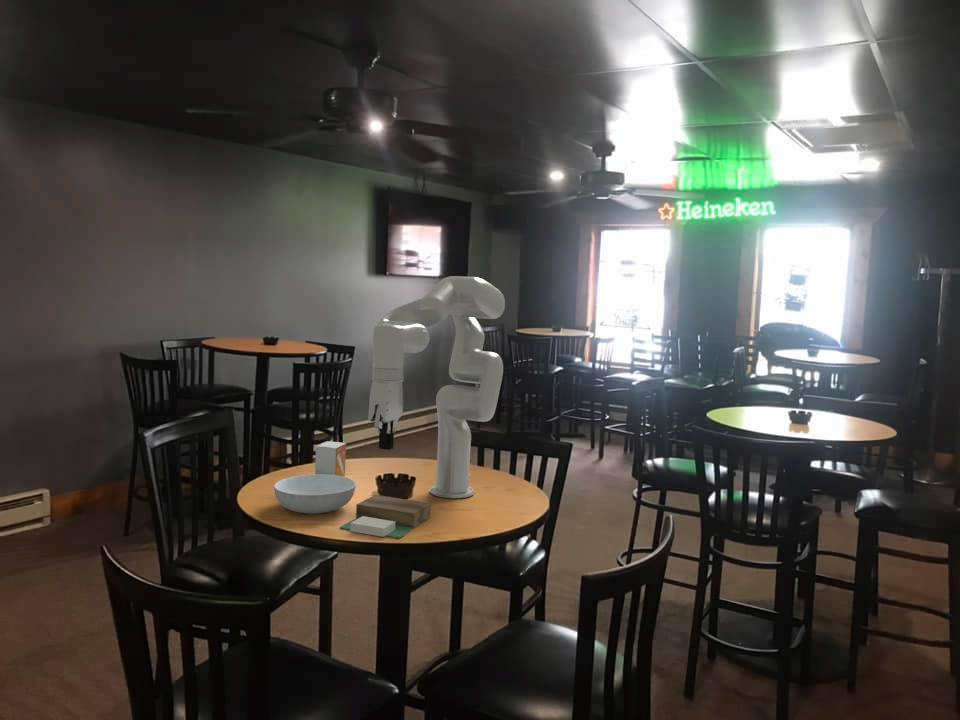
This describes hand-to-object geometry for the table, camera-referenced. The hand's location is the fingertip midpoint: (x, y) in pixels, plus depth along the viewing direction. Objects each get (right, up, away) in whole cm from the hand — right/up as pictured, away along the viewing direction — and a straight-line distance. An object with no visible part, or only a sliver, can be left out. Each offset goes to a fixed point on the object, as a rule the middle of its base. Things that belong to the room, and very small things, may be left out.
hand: (386, 448), depth 183 cm
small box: (-20, -16, +33) cm, 42 cm away
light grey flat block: (-3, -17, -4) cm, 18 cm away
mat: (-2, -20, -2) cm, 20 cm away
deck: (+1, -19, +7) cm, 20 cm away
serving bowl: (-20, -18, +12) cm, 30 cm away
